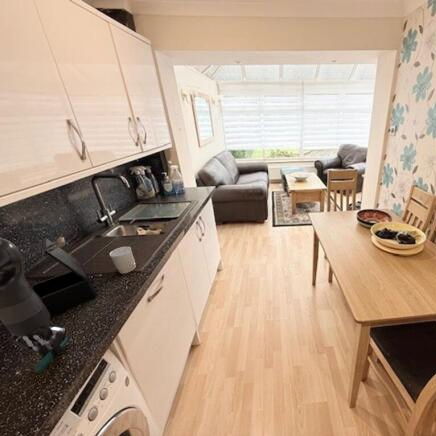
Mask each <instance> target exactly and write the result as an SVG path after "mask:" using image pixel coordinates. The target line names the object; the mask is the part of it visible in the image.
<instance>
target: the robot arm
mask: <svg viewBox="0 0 436 436" xmlns="http://www.w3.org/2000/svg"><path fill="white" fill-rule="evenodd" d="M0 321H1V323H2V324H3V325H4V326H5V328H6V329H7V330H8V332H9V333H10V334H11V335H10V337H8V338H7V340H8V342H11V343H13V344H14V345H17V346H18V347H20V348H22V349H24V350H25V351H28V352H30V351H31V350H33V351H34V352H37V353H38V354H39V356H40V357H41V358H42V359H43V358H44V357H45V355H46V354H47V353H48V352H49V351H50V353H51V354H52V356H53V357H54V359H58V358H59V357H60V356H61V355H62V354H63V352H64V349H63V348H61V346H60V345H61V343H62V342H63V341H64V340H65V338H66V337H67V332H68V326H67V325H62V326H61V327H59V326H58V327H57V326H56V325H55V324H54V323H53V322H51V317H50V313H49V311H48V310H47V308H46V307H45V305H44V304H43V302H42V301H41V299H40V297H39V296H38V295H37V294H36V293H35V292H34V291H33V289H32V288H31V284H30V283H29V281H28V279H27V278H26V276H25V268H24V262H23V258H22V254H21V251H20V250H19V248H18V247H17V246H16V245H15V244H14V243H13V242H11V241H10V240H8V239H5V238H2V237H0Z"/></svg>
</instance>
